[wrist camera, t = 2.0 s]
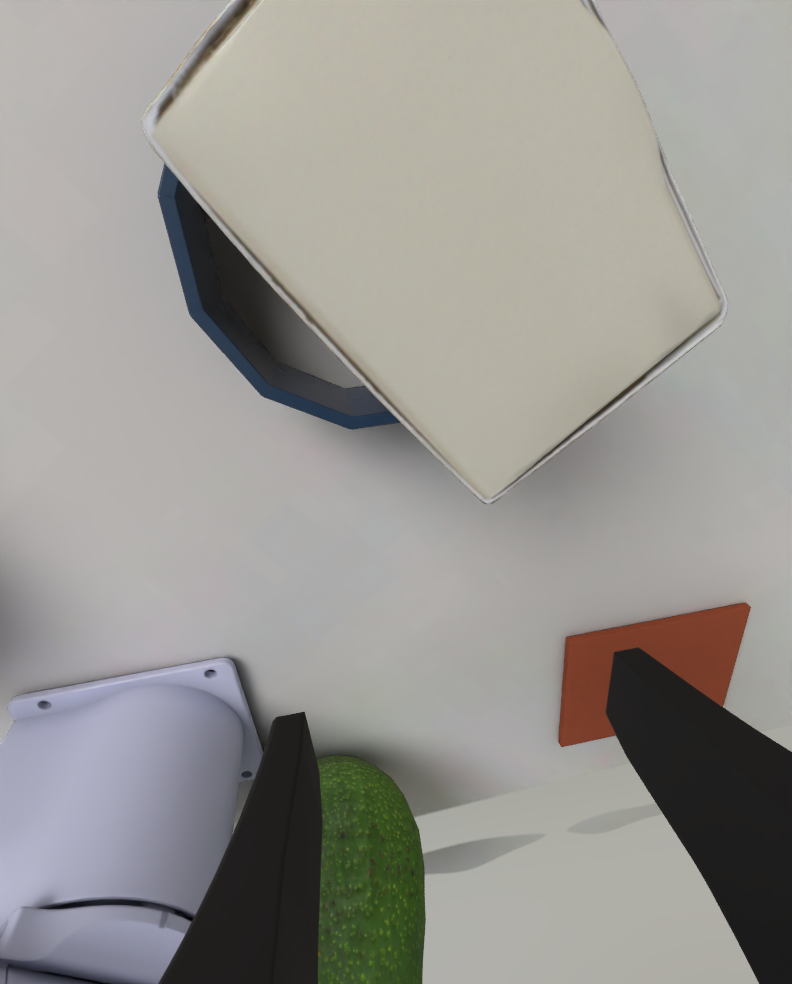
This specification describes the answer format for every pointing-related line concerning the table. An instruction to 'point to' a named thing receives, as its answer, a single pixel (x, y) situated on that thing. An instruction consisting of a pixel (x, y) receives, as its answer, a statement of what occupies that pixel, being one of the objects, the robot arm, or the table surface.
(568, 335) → the cosmetic box
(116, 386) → the table surface
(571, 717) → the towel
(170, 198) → the dark blue faceted ring
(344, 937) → the fruit
